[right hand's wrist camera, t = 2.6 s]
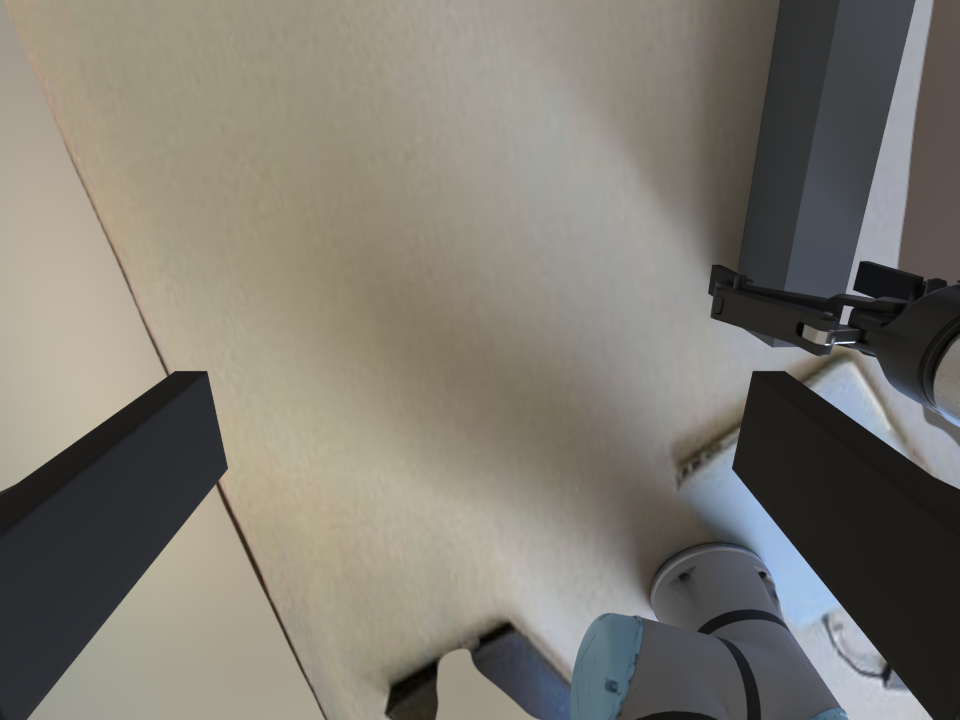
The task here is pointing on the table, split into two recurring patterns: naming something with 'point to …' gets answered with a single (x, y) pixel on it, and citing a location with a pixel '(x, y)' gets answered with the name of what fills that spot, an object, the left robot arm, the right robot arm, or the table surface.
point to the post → (820, 142)
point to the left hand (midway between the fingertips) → (786, 277)
